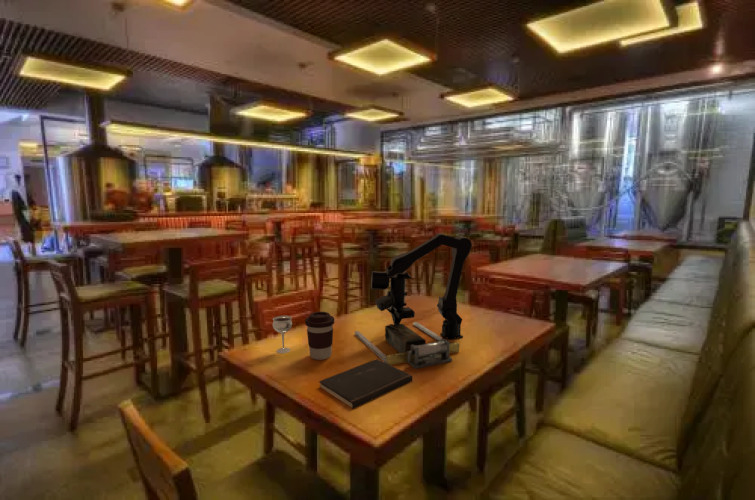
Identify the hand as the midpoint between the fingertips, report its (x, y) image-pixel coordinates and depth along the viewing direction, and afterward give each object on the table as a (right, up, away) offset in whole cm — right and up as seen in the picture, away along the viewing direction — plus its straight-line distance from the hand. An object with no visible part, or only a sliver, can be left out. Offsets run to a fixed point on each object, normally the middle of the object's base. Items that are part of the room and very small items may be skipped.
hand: (395, 327), depth 154 cm
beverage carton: (+2, -6, -10) cm, 11 cm away
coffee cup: (-27, -7, -16) cm, 32 cm away
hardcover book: (-11, -10, -36) cm, 39 cm away
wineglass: (-41, -6, -12) cm, 43 cm away
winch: (+10, -7, -22) cm, 25 cm away
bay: (+3, -5, -5) cm, 7 cm away
